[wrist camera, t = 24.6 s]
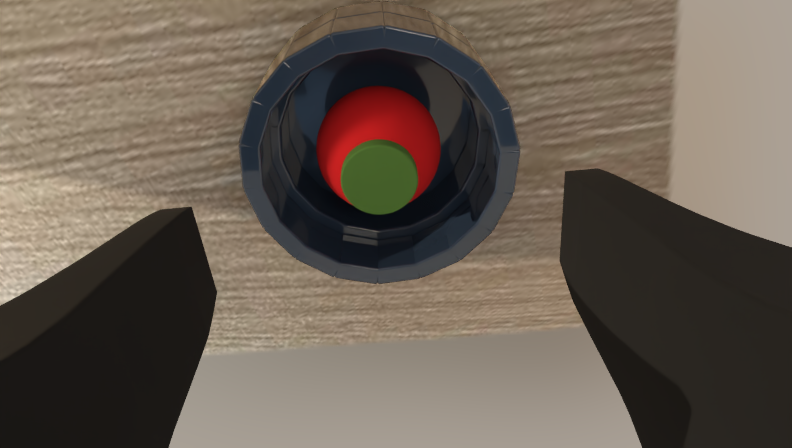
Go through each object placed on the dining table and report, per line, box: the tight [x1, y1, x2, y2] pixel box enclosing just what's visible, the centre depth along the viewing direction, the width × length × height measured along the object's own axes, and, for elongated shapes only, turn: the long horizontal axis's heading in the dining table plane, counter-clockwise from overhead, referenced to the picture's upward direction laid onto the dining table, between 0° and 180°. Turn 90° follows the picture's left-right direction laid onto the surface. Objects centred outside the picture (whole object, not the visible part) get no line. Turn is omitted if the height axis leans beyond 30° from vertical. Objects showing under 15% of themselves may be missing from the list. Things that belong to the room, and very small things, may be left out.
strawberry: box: [316, 86, 441, 215], centre depth 15 cm, size 3×3×4 cm
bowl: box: [239, 1, 520, 284], centre depth 16 cm, size 7×7×4 cm
